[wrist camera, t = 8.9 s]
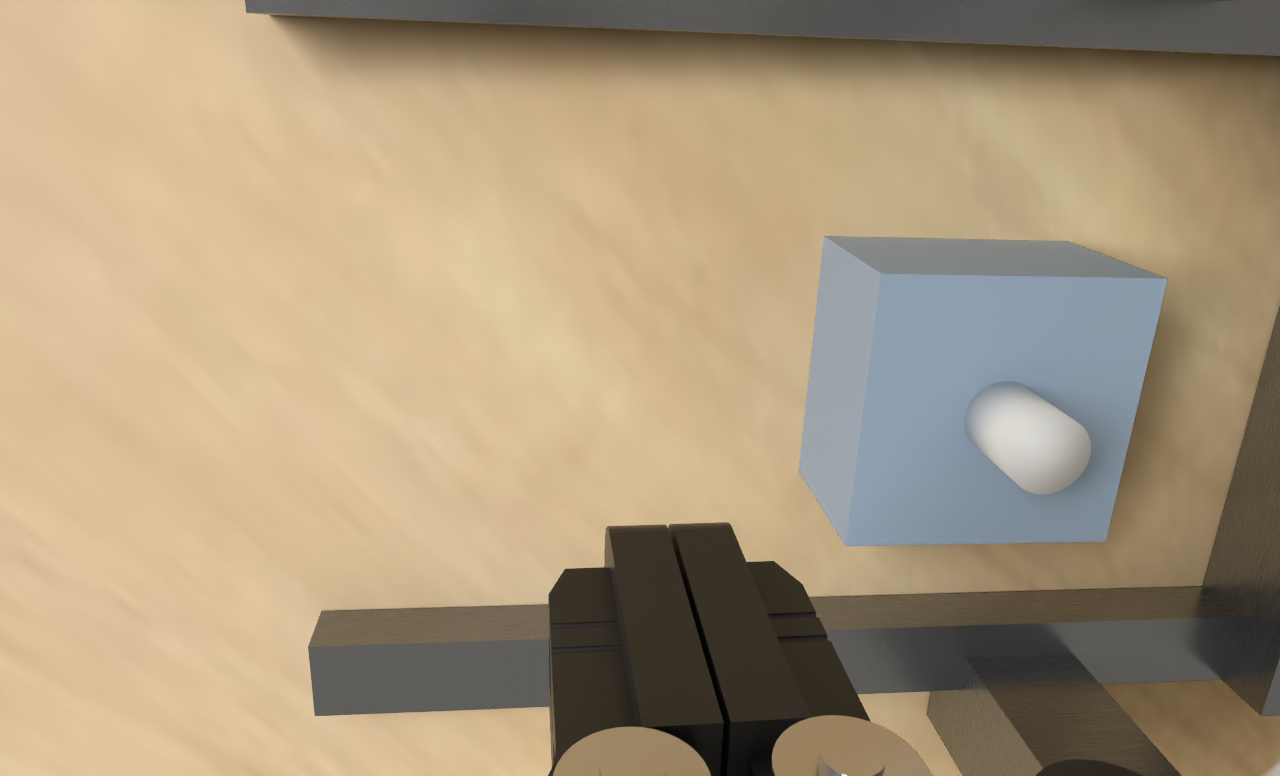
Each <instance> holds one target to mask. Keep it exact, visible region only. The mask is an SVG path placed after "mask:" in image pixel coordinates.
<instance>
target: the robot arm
mask: <svg viewBox="0 0 1280 776" xmlns="http://www.w3.org/2000/svg"><path fill="white" fill-rule="evenodd" d="M549 706H550V731H551V757H552V769H551V771H550V773H549V775H548V776H933V775H932V773H931V772H930V770H929V769H928V767H927V766H926V764H925V762H924V761H923V759H922V758H921V757H920V755H919V754H918V753H917V752H916V750H915V749H914V748H913V747H912V746H911V745H910V744H908V743H907V742H906V741H905V740H904V739H902V738H901V737H900V736H898V735H897V734H895V733H893V732H892V731H890V730H888V729H886V728H885V727H882V726H880V725H878V724H875V723H873V722H871V721H870V719H869V717H868V715H867V713H866V711H865V709H864V707H863V705H862V703H861V701H860V699H859V697H858V695H857V693H856V691H855V689H854V687H853V685H852V683H851V681H850V679H849V677H848V675H847V673H846V671H845V669H844V667H843V665H842V663H841V661H840V659H839V657H838V655H837V653H836V651H835V649H834V647H833V645H832V643H831V641H828V639H827V633H826V631H825V629H824V627H823V625H822V623H821V621H820V619H819V617H816V611H815V609H814V607H813V605H812V603H811V601H810V599H809V597H808V595H807V593H806V591H805V589H804V587H803V585H802V584H801V583H800V582H799V581H798V580H796V579H795V578H794V577H793V576H791V575H790V574H789V573H788V572H787V571H785V570H784V569H783V568H782V567H780V566H779V565H778V564H777V563H775V562H774V561H765V562H746V560H745V558H744V555H743V553H742V551H741V548H740V546H739V543H738V541H737V539H736V536H735V534H734V531H733V529H732V527H731V525H730V524H729V523H695V524H670V525H669V527H668V528H667V526H666V525H637V526H607V528H606V534H605V566H604V568H577V569H565V570H564V572H563V573H562V575H561V576H560V578H559V579H558V581H557V582H556V584H555V585H554V587H553V589H552V590H551V592H550V593H549ZM1036 776H1143V775H1141V774H1138V773H1136V772H1134V771H1132V770H1129V769H1126V768H1123V767H1121V766H1118V765H1114V764H1110V763H1106V762H1102V761H1095V760H1085V759H1073V760H1064V761H1060V762H1056V763H1053V764H1051V765H1049V766H1047V767H1045V768H1043V769H1042V770H1041V771H1040V772H1039V773H1037V774H1036Z"/></svg>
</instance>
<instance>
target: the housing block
mask: <svg viewBox="0 0 1280 776" xmlns="http://www.w3.org/2000/svg"><path fill="white" fill-rule="evenodd" d="M1167 280H1168V278H1165V277H1162V276H1160V275H1157V274H1154V273H1151V272H1149V271H1146V270H1143V269H1141V268H1138V267H1135V266H1133V265H1130V264H1127V263H1125V262H1122V261H1119V260H1116V259H1114V258H1111V257H1108V256H1106V255H1103V254H1100V253H1098V252H1095V251H1092V250H1090V249H1087V248H1084V247H1081V246H1079V245H1076V244H1073V243H1071V242H1068V241H1031V240H984V239H937V238H890V237H843V236H824V243H823V252H822V261H821V270H820V280H819V289H818V298H817V307H816V317H815V326H814V335H813V344H812V354H811V363H810V372H809V382H808V391H807V400H806V409H805V419H804V428H803V437H802V446H801V456H800V465H799V472H800V474H801V476H802V477H803V479H804V480H805V482H806V484H807V485H808V487H809V488H810V490H811V492H812V493H813V495H814V496H815V498H816V500H817V501H818V503H819V504H820V506H821V508H822V509H823V511H824V512H825V514H826V516H827V517H828V519H829V520H830V522H831V524H832V525H833V527H834V528H835V530H836V532H837V533H838V535H839V537H840V538H841V540H842V541H843V543H844V545H845V546H887V545H944V544H1000V543H1057V542H1106V538H1107V534H1108V530H1109V526H1110V521H1111V517H1112V513H1113V509H1114V505H1115V500H1116V496H1117V492H1118V488H1119V483H1120V479H1121V475H1122V471H1123V466H1124V462H1125V458H1126V454H1127V449H1128V445H1129V441H1130V437H1131V433H1132V428H1133V424H1134V420H1135V416H1136V411H1137V407H1138V403H1139V399H1140V394H1141V390H1142V386H1143V382H1144V378H1145V373H1146V369H1147V365H1148V361H1149V356H1150V352H1151V348H1152V344H1153V339H1154V335H1155V331H1156V327H1157V323H1158V318H1159V314H1160V310H1161V306H1162V301H1163V297H1164V293H1165V289H1166V284H1167Z"/></svg>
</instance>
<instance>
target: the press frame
mask: <svg viewBox="0 0 1280 776" xmlns="http://www.w3.org/2000/svg"><path fill="white" fill-rule="evenodd" d="M245 4H246V13H255V14H264V15H284V16H308V17H333V18H357V19H381V20H406V21H430V22H454V23H479V24H503V25H527V26H552V27H576V28H600V29H625V30H649V31H673V32H698V33H722V34H746V35H771V36H795V37H819V38H844V39H868V40H892V41H917V42H941V43H965V44H990V45H1014V46H1038V47H1063V48H1087V49H1111V50H1136V51H1160V52H1184V53H1209V54H1233V55H1257V56H1280V0H245ZM809 599H810V601H811V603H812V605H813V607H814V609H815V611H816V617H819V619H820V621H821V623H822V625H823V627H824V629H825V631H826V633H827V639H828V641H831V643H832V645H833V647H834V649H835V651H836V653H837V655H838V657H839V659H840V661H841V663H842V665H843V667H844V669H845V671H846V673H847V675H848V677H849V679H850V681H851V683H852V685H853V687H854V689H855V691H856V693H857V694H873V693H898V692H923V691H931V693H930V698H929V704H928V710H927V716H928V717H929V719H930V721H931V723H932V724H933V726H934V728H935V729H936V731H937V733H938V734H939V736H940V738H941V740H942V741H943V743H944V745H945V746H946V748H947V750H948V751H949V753H950V755H951V757H952V758H953V760H954V762H955V763H956V765H957V767H958V768H959V770H960V772H961V774H962V775H963V776H1036V774H1037V773H1039V772H1040V771H1041V770H1042V769H1043V768H1045V767H1047V766H1049V765H1051V764H1053V763H1056V762H1060V761H1064V760H1073V759H1085V760H1095V761H1102V762H1106V763H1110V764H1114V765H1118V766H1121V767H1123V768H1126V769H1129V770H1132V771H1134V772H1136V773H1138V774H1141V775H1143V776H1181V775H1180V773H1179V772H1178V771H1177V770H1176V769H1175V768H1174V767H1173V766H1172V764H1171V763H1170V762H1169V761H1168V760H1167V759H1166V758H1165V757H1164V755H1163V754H1162V753H1161V752H1160V751H1159V750H1158V749H1157V748H1156V746H1155V745H1154V744H1153V743H1152V742H1151V741H1150V740H1149V739H1148V737H1147V736H1146V735H1145V734H1144V733H1143V732H1142V731H1141V730H1140V728H1139V727H1138V726H1137V725H1136V724H1135V723H1134V722H1133V721H1132V719H1131V718H1130V717H1129V716H1128V715H1127V714H1126V713H1125V711H1124V710H1123V709H1122V708H1121V707H1120V706H1119V705H1118V704H1117V702H1116V701H1115V700H1114V699H1113V698H1112V697H1111V696H1110V695H1109V693H1108V692H1107V691H1106V690H1105V689H1104V688H1103V687H1102V686H1101V684H1121V683H1146V682H1171V681H1196V680H1221V679H1222V680H1223V681H1224V682H1225V683H1226V684H1227V685H1228V686H1229V687H1230V688H1231V689H1232V690H1234V691H1235V692H1236V693H1237V694H1238V695H1239V696H1240V697H1241V698H1242V699H1243V700H1244V701H1245V702H1247V703H1248V704H1249V705H1250V706H1251V707H1252V708H1253V709H1254V710H1255V711H1256V712H1257V713H1259V714H1260V715H1261V716H1272V715H1280V307H1279V311H1278V314H1277V318H1276V322H1275V325H1274V329H1273V333H1272V336H1271V340H1270V343H1269V347H1268V351H1267V354H1266V358H1265V362H1264V365H1263V369H1262V372H1261V376H1260V380H1259V383H1258V387H1257V391H1256V394H1255V398H1254V402H1253V405H1252V409H1251V412H1250V416H1249V420H1248V423H1247V427H1246V431H1245V434H1244V438H1243V442H1242V445H1241V449H1240V452H1239V456H1238V460H1237V463H1236V467H1235V471H1234V474H1233V478H1232V481H1231V485H1230V489H1229V492H1228V496H1227V500H1226V503H1225V507H1224V511H1223V514H1222V518H1221V521H1220V525H1219V529H1218V532H1217V536H1216V540H1215V543H1214V547H1213V551H1212V554H1211V558H1210V561H1209V565H1208V569H1207V572H1206V576H1205V580H1204V583H1203V586H1199V587H1164V588H1128V589H1093V590H1057V591H1022V592H986V593H950V594H915V595H879V596H844V597H809ZM308 649H309V659H310V670H311V680H312V690H313V700H314V711H315V716H328V715H352V714H377V713H402V712H427V711H452V710H476V709H501V708H526V707H550V706H549V605H524V606H488V607H453V608H417V609H382V610H346V611H321V614H320V616H319V619H318V622H317V624H316V627H315V630H314V633H313V635H312V638H311V641H310V643H309V646H308Z"/></svg>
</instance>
